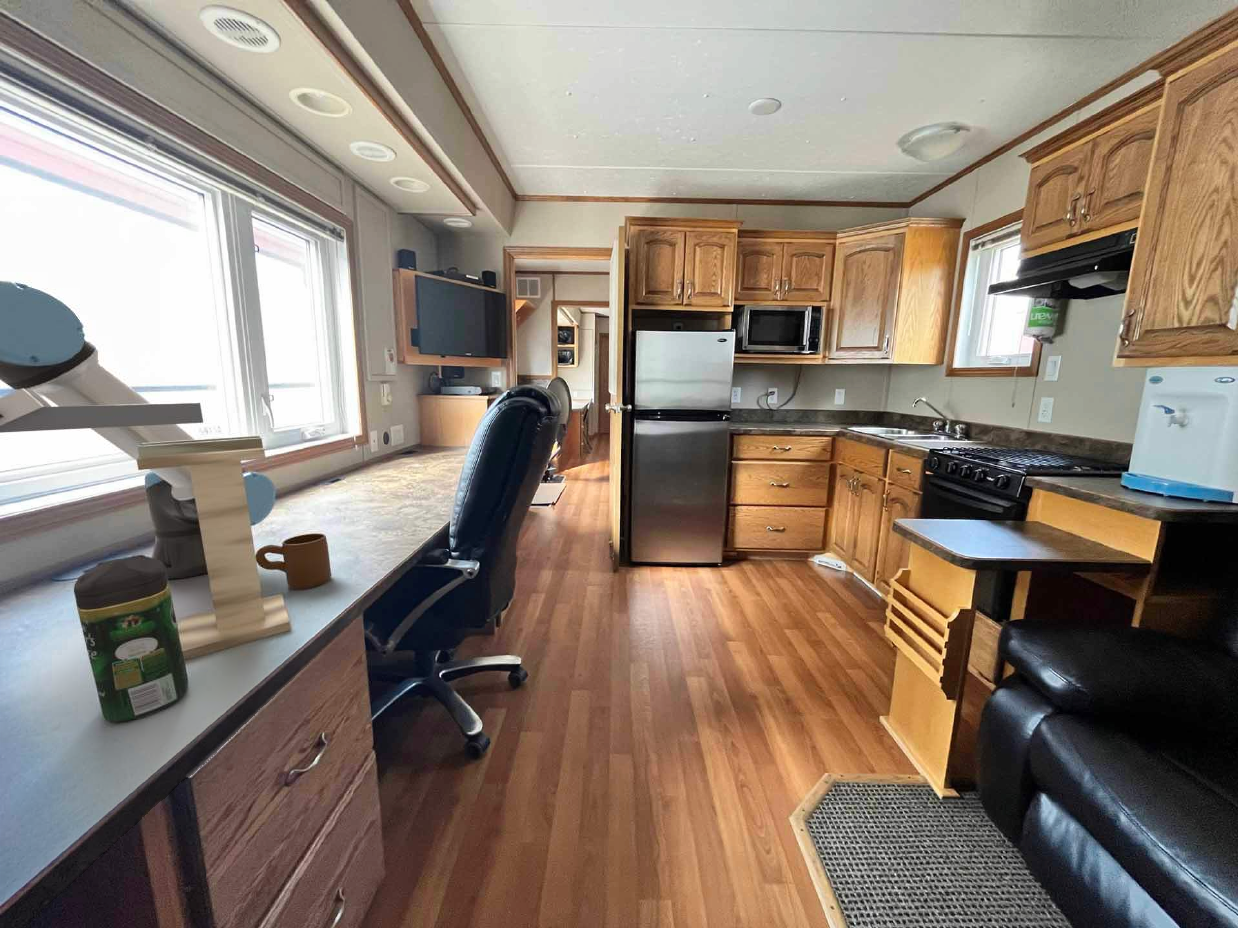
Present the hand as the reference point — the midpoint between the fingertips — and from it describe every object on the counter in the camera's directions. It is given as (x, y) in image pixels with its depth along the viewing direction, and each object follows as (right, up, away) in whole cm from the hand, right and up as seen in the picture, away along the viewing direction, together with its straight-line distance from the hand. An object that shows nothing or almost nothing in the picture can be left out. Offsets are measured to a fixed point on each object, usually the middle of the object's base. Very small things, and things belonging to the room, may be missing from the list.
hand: (37, 397), depth 61 cm
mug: (+11, -33, +34) cm, 49 cm away
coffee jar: (+16, -39, -1) cm, 42 cm away
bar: (+3, -4, +3) cm, 6 cm away
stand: (+12, -36, +17) cm, 42 cm away
